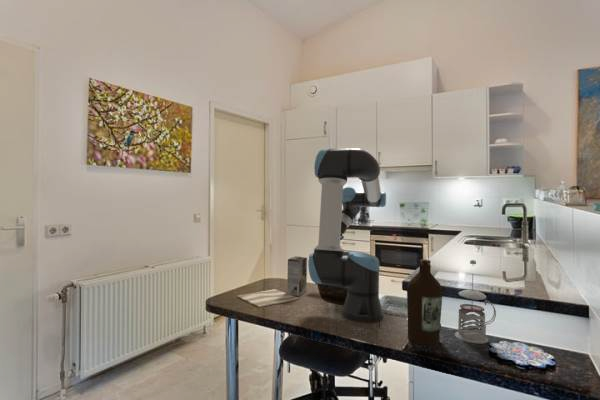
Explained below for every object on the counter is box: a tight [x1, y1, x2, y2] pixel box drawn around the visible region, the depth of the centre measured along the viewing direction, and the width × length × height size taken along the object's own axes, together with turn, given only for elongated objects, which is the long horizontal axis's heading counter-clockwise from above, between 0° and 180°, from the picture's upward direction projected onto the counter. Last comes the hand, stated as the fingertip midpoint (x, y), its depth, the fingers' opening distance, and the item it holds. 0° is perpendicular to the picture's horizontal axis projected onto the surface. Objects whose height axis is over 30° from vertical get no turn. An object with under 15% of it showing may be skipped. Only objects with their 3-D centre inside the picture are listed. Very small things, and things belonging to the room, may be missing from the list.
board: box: [236, 288, 300, 308], centre depth 149 cm, size 18×20×1 cm
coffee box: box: [286, 256, 308, 297], centre depth 159 cm, size 9×6×16 cm
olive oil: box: [406, 259, 443, 346], centre depth 109 cm, size 11×11×25 cm
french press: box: [454, 259, 497, 344], centre depth 111 cm, size 10×12×25 cm
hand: (316, 259), depth 167 cm, fingers closed
